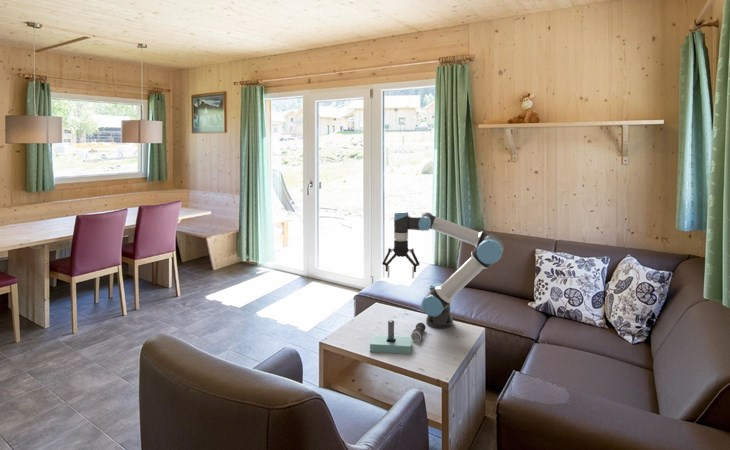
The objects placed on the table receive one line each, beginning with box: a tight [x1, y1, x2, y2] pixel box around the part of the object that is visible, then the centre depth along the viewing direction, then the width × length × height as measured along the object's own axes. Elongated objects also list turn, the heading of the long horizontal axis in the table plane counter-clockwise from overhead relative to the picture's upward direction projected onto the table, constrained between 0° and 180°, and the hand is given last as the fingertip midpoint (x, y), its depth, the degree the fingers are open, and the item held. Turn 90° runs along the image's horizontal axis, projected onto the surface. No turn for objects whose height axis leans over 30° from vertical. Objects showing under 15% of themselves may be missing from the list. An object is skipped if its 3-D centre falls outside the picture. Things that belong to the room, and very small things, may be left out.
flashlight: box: [410, 322, 427, 342], centre depth 237 cm, size 15×5×5 cm, turn 163°
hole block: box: [369, 334, 413, 355], centre depth 222 cm, size 20×11×4 cm, turn 82°
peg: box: [387, 319, 395, 343], centre depth 221 cm, size 3×3×14 cm
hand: (400, 277), depth 245 cm, fingers open, 13 cm apart
